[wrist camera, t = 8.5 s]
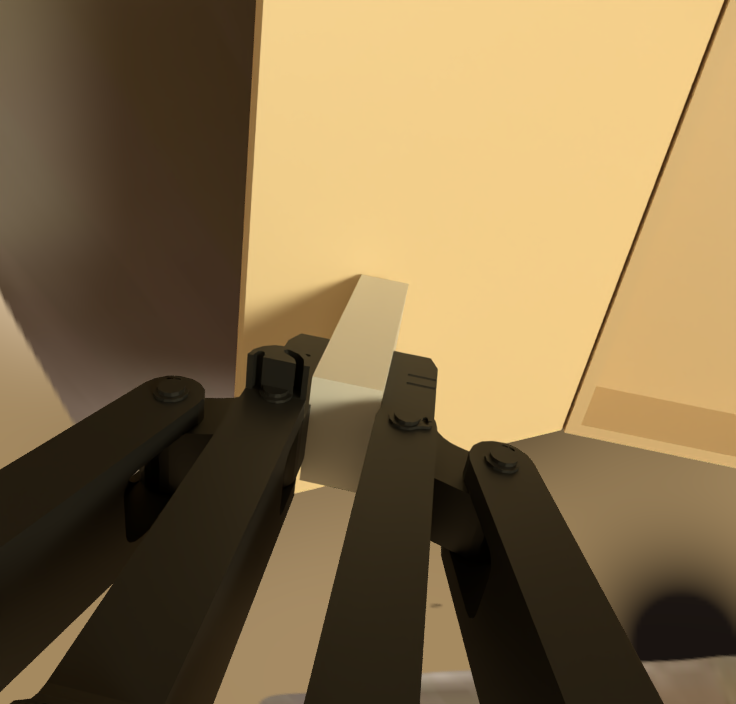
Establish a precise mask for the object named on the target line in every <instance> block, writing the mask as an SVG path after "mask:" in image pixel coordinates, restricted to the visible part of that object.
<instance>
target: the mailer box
mask: <svg viewBox="0 0 736 704" xmlns="http://www.w3.org/2000/svg"><path fill="white" fill-rule="evenodd" d="M563 429H564V432H565V433H569V434H574V435H579V436H584V437H588V438H593V439H598V440H603V441H608V442H613V443H617V444H622V445H627V446H632V447H637V448H641V449H646V450H651V451H656V452H661V453H665V454H670V455H675V456H680V457H685V458H689V459H694V460H699V461H704V462H708V463H714V464H718V465H723V466H728V467H733V468H736V0H724V3H723V5H722V8H721V10H720V13H719V16H718V18H717V21H716V24H715V26H714V29H713V32H712V34H711V37H710V39H709V42H708V45H707V47H706V50H705V53H704V55H703V58H702V61H701V63H700V66H699V68H698V71H697V74H696V76H695V79H694V82H693V84H692V87H691V90H690V92H689V95H688V97H687V100H686V103H685V105H684V108H683V111H682V113H681V116H680V119H679V121H678V124H677V126H676V129H675V132H674V134H673V137H672V140H671V142H670V145H669V148H668V150H667V153H666V155H665V158H664V161H663V163H662V166H661V169H660V171H659V174H658V177H657V179H656V182H655V184H654V187H653V190H652V192H651V195H650V198H649V200H648V203H647V206H646V208H645V211H644V213H643V216H642V219H641V221H640V224H639V227H638V229H637V232H636V235H635V237H634V240H633V243H632V245H631V248H630V250H629V253H628V256H627V258H626V261H625V264H624V266H623V269H622V272H621V274H620V277H619V279H618V282H617V285H616V287H615V290H614V293H613V295H612V298H611V301H610V303H609V306H608V308H607V311H606V314H605V316H604V319H603V322H602V324H601V327H600V330H599V332H598V335H597V337H596V340H595V343H594V345H593V348H592V351H591V353H590V356H589V359H588V361H587V364H586V366H585V369H584V372H583V374H582V377H581V380H580V382H579V385H578V388H577V390H576V393H575V395H574V398H573V401H572V403H571V406H570V409H569V411H568V414H567V417H566V419H565V422H564V424H563Z"/></svg>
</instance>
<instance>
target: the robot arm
mask: <svg viewBox="0 0 736 704" xmlns="http://www.w3.org/2000/svg"><path fill="white" fill-rule="evenodd" d="M408 285H409V284H407V283H402V282H397V281H392V280H387V279H382V278H377V277H372V276H367V275H361V277H360V279H359V281H358V283H357V285H356V287H355V289H354V291H353V293H352V296H351V298H350V300H349V302H348V304H347V306H346V308H345V310H344V312H343V314H342V316H341V318H340V320H339V322H338V324H337V327H336V329H335V331H334V333H333V335H332V337H331V339H327V338H322V337H317V336H312V335H307V334H302V333H301V334H299V335H297V336H295V337H293V338H291V339H289V340H288V342H287V343H286V345H285V346H279V345H269V346H262V347H258V348H255V349H253V350H252V351H251V352H249V353H248V355H247V371H246V386H245V389H244V391H243V392H242V393H241V395H240V396H239V397H235V398H205V389H204V388H203V387H202V385H201V384H200V383H198V382H196V381H195V380H193V379H190V378H186V377H182V376H165V377H159V378H154V379H152V380H150V381H147V382H145V383H143V384H142V385H140V386H138V387H137V388H135V389H133V390H132V391H130V392H128V393H127V394H125V395H123V396H122V397H120V398H118V399H117V400H115V401H113V402H112V403H110V404H108V405H107V406H105V407H103V408H102V409H100V410H98V411H97V412H95V413H93V414H92V415H90V416H88V417H87V418H85V419H83V420H82V421H80V422H78V423H77V424H75V425H73V426H72V427H70V428H68V429H67V430H65V431H63V432H62V433H60V434H58V435H57V436H55V437H54V438H52V439H50V440H49V441H47V442H45V443H44V444H42V445H40V446H39V447H37V448H35V449H34V450H32V451H30V452H29V453H27V454H25V455H24V456H22V457H20V458H19V459H17V460H15V461H14V462H12V463H10V464H9V465H7V466H5V467H4V468H2V469H0V692H1V691H2V690H3V689H4V688H5V687H6V686H7V685H8V684H9V683H10V682H11V681H12V680H13V679H14V678H15V677H16V676H17V675H18V674H19V673H20V672H21V671H22V670H24V669H25V668H26V667H27V666H28V665H29V664H30V663H31V662H32V661H33V660H34V659H35V658H36V657H37V656H38V655H39V654H40V653H41V652H42V651H43V650H44V649H45V648H46V647H47V646H48V645H49V644H50V643H51V642H53V641H54V640H55V639H56V638H57V637H58V636H59V635H60V634H61V633H62V632H63V631H64V630H65V629H66V628H67V627H68V626H69V625H70V624H71V623H72V622H73V621H74V620H75V619H76V618H77V617H79V616H80V615H81V614H82V613H83V612H84V611H85V610H86V609H87V608H88V607H89V606H90V605H91V604H92V603H93V602H94V601H95V600H96V599H97V598H98V597H99V596H100V595H101V594H102V593H103V592H105V590H106V589H107V588H109V587H110V586H111V585H112V584H113V585H112V586H111V588H110V589H109V591H108V592H107V594H106V595H105V597H104V598H103V600H102V601H101V602H100V604H99V606H98V607H97V609H96V610H95V612H94V613H93V614H92V616H91V617H90V619H89V620H88V622H87V623H86V625H85V626H84V628H83V629H82V631H81V632H80V634H79V635H78V637H77V638H76V640H75V641H74V643H73V644H72V646H71V647H70V649H69V650H68V651H67V653H66V655H65V656H64V657H63V659H62V660H61V662H60V663H59V665H58V666H57V668H56V669H55V671H54V672H53V674H52V675H51V677H50V678H49V680H48V681H47V683H46V684H45V685H44V686H43V688H42V689H41V690H40V691H39V693H37V694H36V695H35V696H34V697H32V698H31V699H24V700H15V701H13V702H12V703H10V704H213V703H214V700H215V698H216V695H217V692H218V690H219V688H220V685H221V682H222V680H223V677H224V675H225V672H226V670H227V667H228V664H229V662H230V659H231V657H232V654H233V651H234V649H235V646H236V644H237V641H238V639H239V636H240V633H241V631H242V628H243V626H244V623H245V621H246V618H247V615H248V613H249V610H250V608H251V605H252V603H253V600H254V597H255V595H256V592H257V590H258V587H259V584H260V582H261V579H262V577H263V574H264V572H265V569H266V566H267V564H268V561H269V559H270V556H271V554H272V551H273V548H274V546H275V543H276V541H277V538H278V536H279V533H280V530H281V528H282V525H283V522H284V520H285V518H286V515H287V512H288V510H289V507H290V505H291V502H292V499H293V497H294V492H295V484H296V477H297V475H298V472H299V470H300V467H301V471H300V479H299V480H301V481H306V482H311V483H315V484H320V485H324V486H329V487H334V488H338V489H342V490H348V491H352V492H356V496H355V500H354V504H353V508H352V511H351V515H350V519H349V523H348V528H347V532H346V536H345V540H344V544H343V548H342V552H341V556H340V560H339V564H338V568H337V572H336V576H335V580H334V584H333V588H332V592H331V596H330V600H329V605H328V609H327V613H326V616H325V620H324V624H323V628H322V633H321V637H320V641H319V645H318V649H317V653H316V657H315V661H314V665H313V669H312V673H311V678H310V681H309V685H308V689H307V693H306V697H305V701H304V704H420V691H421V675H422V659H423V658H422V657H423V644H424V628H425V612H426V597H427V581H428V565H429V550H430V541H432V542H434V543H436V544H438V545H440V546H441V557H442V561H443V565H444V568H445V573H446V576H447V580H448V584H449V588H450V591H451V596H452V599H453V603H454V607H455V611H456V615H457V619H458V622H459V626H460V630H461V634H462V637H463V642H464V645H465V649H466V653H467V657H468V661H469V665H470V668H471V672H472V676H473V680H474V684H475V688H476V691H477V695H478V699H479V703H480V704H664V703H663V701H662V700H661V698H660V696H659V694H658V692H657V690H656V688H655V687H654V685H653V683H652V681H651V679H650V677H649V675H648V674H647V672H646V670H645V668H644V666H643V664H642V663H641V661H640V659H639V657H638V655H637V653H636V652H635V650H634V648H633V646H632V644H631V642H630V640H629V639H628V637H627V635H626V633H625V631H624V629H623V627H622V626H621V624H620V622H619V620H618V618H617V616H616V615H615V613H614V611H613V609H612V607H611V605H610V603H609V602H608V600H607V598H606V596H605V594H604V592H603V590H602V589H601V587H600V585H599V583H598V581H597V579H596V577H595V576H594V574H593V572H592V570H591V568H590V566H589V565H588V563H587V561H586V559H585V557H584V555H583V553H582V552H581V550H580V548H579V546H578V544H577V542H576V541H575V539H574V537H573V535H572V533H571V531H570V529H569V528H568V526H567V524H566V522H565V520H564V518H563V517H562V515H561V513H560V511H559V509H558V507H557V505H556V503H555V502H554V500H553V498H552V496H551V494H550V492H549V491H548V489H547V487H546V485H545V483H544V481H543V479H542V478H541V476H540V474H539V472H538V470H537V468H536V466H535V465H534V463H533V462H532V461H531V459H530V458H529V457H528V456H527V455H526V454H525V453H523V452H522V451H520V450H519V449H518V448H516V447H513V446H511V445H509V444H506V443H502V442H496V441H481V442H479V443H477V444H475V445H473V446H472V448H471V449H470V451H467V450H465V449H462V448H460V447H458V446H456V445H454V444H452V443H450V442H449V441H448V440H446V439H445V438H443V437H442V435H441V434H440V433H439V432H438V431H437V424H436V421H435V420H434V416H435V402H436V388H437V375H438V369H437V367H436V365H435V364H434V362H433V361H432V359H431V358H427V357H422V356H417V355H412V354H407V353H402V352H397V351H395V350H396V345H397V340H398V335H399V330H400V325H401V320H402V315H403V310H404V305H405V300H406V295H407V290H408ZM137 470H139V471H138V472H137V473H136V471H137ZM135 473H136V474H135Z"/></svg>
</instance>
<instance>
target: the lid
mask: <svg viewBox="0 0 736 704" xmlns="http://www.w3.org/2000/svg"><path fill="white" fill-rule="evenodd" d="M723 3H724V0H256V13H255V31H254V49H253V67H252V86H251V104H250V122H249V140H248V158H247V177H246V195H245V213H244V231H243V249H242V267H241V286H240V304H239V322H238V340H237V358H236V376H235V395H234V398H235V397H239V396H240V395H241V393H242V392H243V391H244V389H245V386H246V371H247V355H248V353H249V352H251V351H252V350H253V349H255V348H258V347H262V346H269V345H279V346H285V345H286V343H287V342H288V340H289V339H291V338H293V337H295V336H297V335H299V334H301V333H302V334H307V335H312V336H317V337H322V338H327V339H331V337H332V335H333V333H334V331H335V329H336V327H337V324H338V322H339V320H340V318H341V316H342V314H343V312H344V310H345V308H346V306H347V304H348V302H349V300H350V298H351V296H352V293H353V291H354V289H355V287H356V285H357V283H358V281H359V279H360V277H361V275H367V276H372V277H377V278H382V279H387V280H392V281H397V282H402V283H407V284H409V285H408V290H407V295H406V300H405V305H404V310H403V315H402V320H401V325H400V330H399V335H398V340H397V345H396V350H395V351H397V352H402V353H407V354H412V355H417V356H422V357H427V358H431V359H432V361H433V362H434V364H435V365H436V367H437V369H438V375H437V388H436V402H435V416H434V420H435V421H436V424H437V431H438V432H439V433H440V434H441V435H442V437H443V438H445V439H446V440H448V441H449V442H450V443H452V444H454V445H456V446H458V447H460V448H462V449H465V450H467V451H470V449H471V448H472V446H473V445H475V444H477V443H479V442H481V441H496V442H502V443H509V442H513V441H518V440H522V439H526V438H530V437H534V436H539V435H543V434H547V433H551V432H556V431H560V430H562V427H563V424H564V422H565V419H566V417H567V414H568V411H569V409H570V406H571V403H572V401H573V398H574V395H575V393H576V390H577V388H578V385H579V382H580V380H581V377H582V374H583V372H584V369H585V366H586V364H587V361H588V359H589V356H590V353H591V351H592V348H593V345H594V343H595V340H596V337H597V335H598V332H599V330H600V327H601V324H602V322H603V319H604V316H605V314H606V311H607V308H608V306H609V303H610V301H611V298H612V295H613V293H614V290H615V287H616V285H617V282H618V279H619V277H620V274H621V272H622V269H623V266H624V264H625V261H626V258H627V256H628V253H629V250H630V248H631V245H632V243H633V240H634V237H635V235H636V232H637V229H638V227H639V224H640V221H641V219H642V216H643V213H644V211H645V208H646V206H647V203H648V200H649V198H650V195H651V192H652V190H653V187H654V184H655V182H656V179H657V177H658V174H659V171H660V169H661V166H662V163H663V161H664V158H665V155H666V153H667V150H668V148H669V145H670V142H671V140H672V137H673V134H674V132H675V129H676V126H677V124H678V121H679V119H680V116H681V113H682V111H683V108H684V105H685V103H686V100H687V97H688V95H689V92H690V90H691V87H692V84H693V82H694V79H695V76H696V74H697V71H698V68H699V66H700V63H701V61H702V58H703V55H704V53H705V50H706V47H707V45H708V42H709V39H710V37H711V34H712V32H713V29H714V26H715V24H716V21H717V18H718V16H719V13H720V10H721V8H722V5H723ZM300 471H301V467H300V470H299V472H298V475H297V477H296V484H295V492H294V493H298V492H303V491H307V490H311V489H315V488H320V487H324V485H320V484H315V483H311V482H306V481H301V480H299V479H300Z"/></svg>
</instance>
